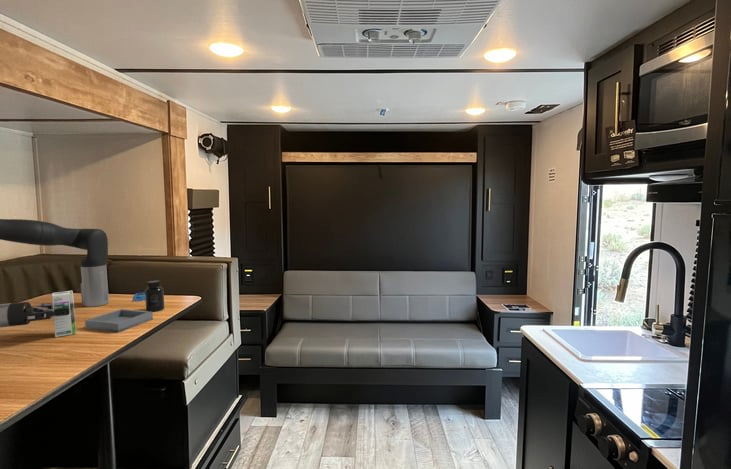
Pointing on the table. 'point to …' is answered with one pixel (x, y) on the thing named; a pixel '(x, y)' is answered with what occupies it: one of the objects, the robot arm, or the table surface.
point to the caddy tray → (118, 320)
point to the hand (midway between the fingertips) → (71, 308)
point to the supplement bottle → (154, 296)
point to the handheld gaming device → (139, 297)
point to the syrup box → (66, 322)
